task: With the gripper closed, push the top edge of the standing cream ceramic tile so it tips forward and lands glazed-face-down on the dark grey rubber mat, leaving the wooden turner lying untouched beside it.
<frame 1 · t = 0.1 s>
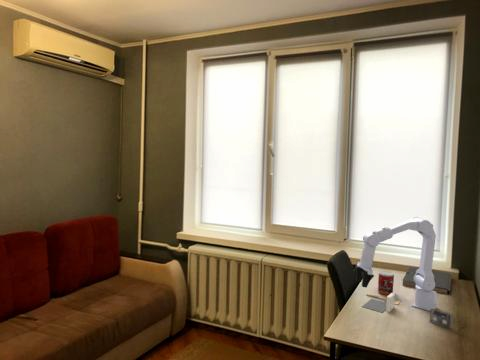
hand: (361, 284, 182), 11 cm above the table, tool pointing down, fingers open, 7 cm apart
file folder: (427, 283, 222), on the table
canned food: (385, 293, 201), on the table
turner: (384, 299, 191), on the table
tile: (390, 309, 179), on the table
mini dv tape: (439, 325, 164), on the table
mat: (376, 305, 183), on the table
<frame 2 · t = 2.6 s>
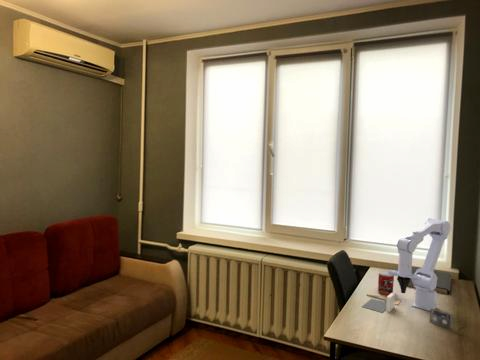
hand: (403, 292, 175), 10 cm above the table, tool pointing down, fingers closed
nothing on the table moved.
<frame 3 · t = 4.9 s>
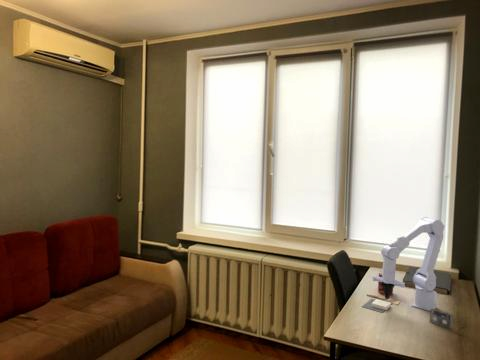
hand: (387, 298, 180), 5 cm above the table, tool pointing down, fingers closed
tile: (388, 306, 180), point 1 cm above the table, tilted 90°, touching mat
everything else where it was.
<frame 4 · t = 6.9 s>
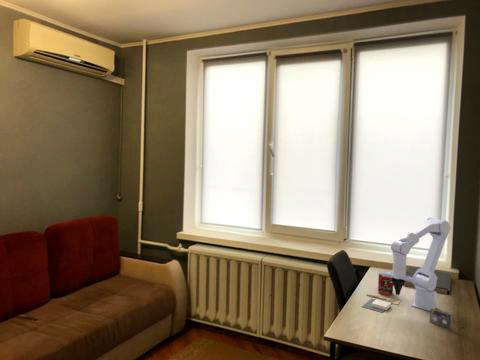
hand: (397, 294, 177), 8 cm above the table, tool pointing down, fingers closed
nothing on the table moved.
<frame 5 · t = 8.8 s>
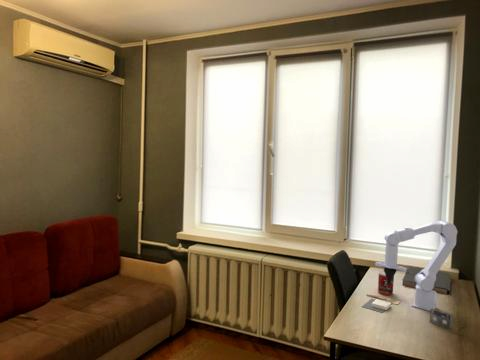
hand: (389, 283, 186), 10 cm above the table, tool pointing down, fingers closed
nothing on the table moved.
at the end: tile tilted 90°; tile inside the target area (5.2 cm from its centre), point 1.1 cm above the table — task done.
